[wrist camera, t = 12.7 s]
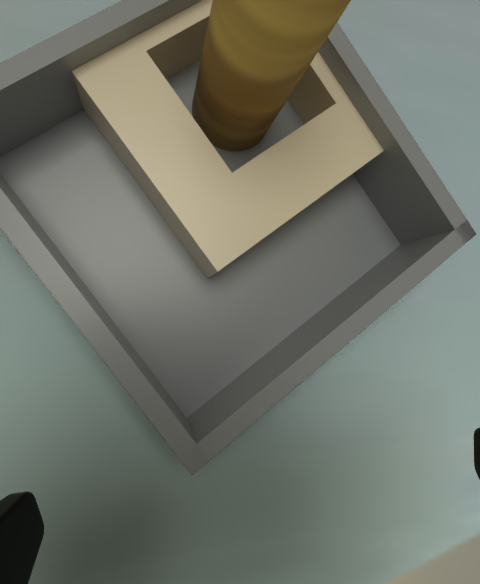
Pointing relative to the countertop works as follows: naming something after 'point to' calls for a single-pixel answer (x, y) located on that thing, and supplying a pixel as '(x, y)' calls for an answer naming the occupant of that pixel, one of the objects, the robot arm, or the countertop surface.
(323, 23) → the peg
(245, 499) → the countertop surface
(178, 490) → the countertop surface
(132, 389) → the bore box
